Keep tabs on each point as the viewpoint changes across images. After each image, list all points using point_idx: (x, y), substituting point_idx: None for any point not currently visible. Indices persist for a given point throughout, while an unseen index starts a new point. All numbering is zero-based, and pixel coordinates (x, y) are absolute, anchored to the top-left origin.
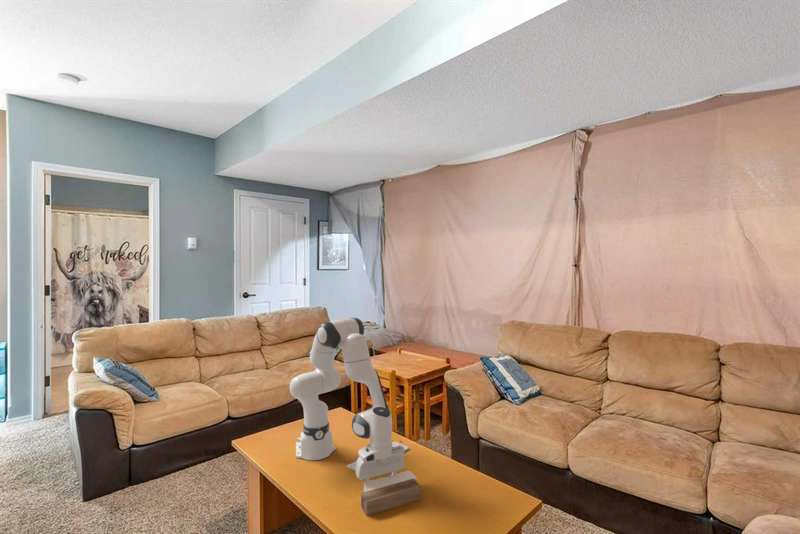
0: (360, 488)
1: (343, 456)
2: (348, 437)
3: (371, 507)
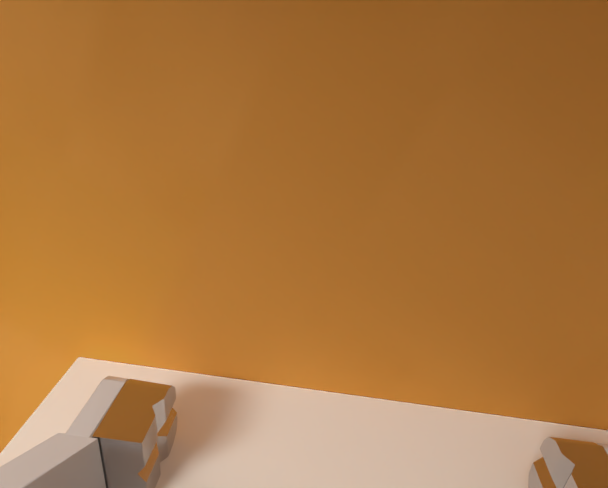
0: (67, 191)
1: None
2: None
3: None
